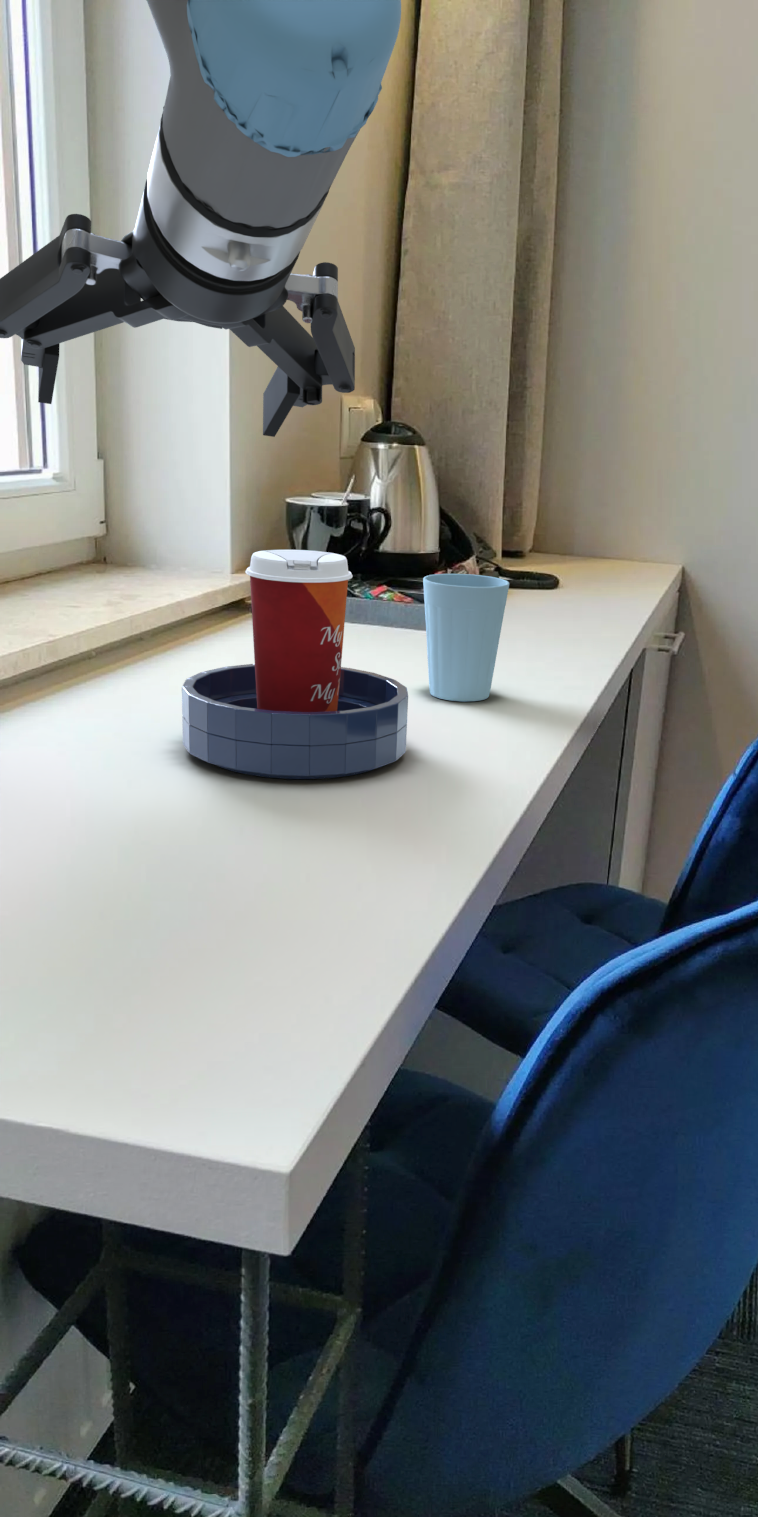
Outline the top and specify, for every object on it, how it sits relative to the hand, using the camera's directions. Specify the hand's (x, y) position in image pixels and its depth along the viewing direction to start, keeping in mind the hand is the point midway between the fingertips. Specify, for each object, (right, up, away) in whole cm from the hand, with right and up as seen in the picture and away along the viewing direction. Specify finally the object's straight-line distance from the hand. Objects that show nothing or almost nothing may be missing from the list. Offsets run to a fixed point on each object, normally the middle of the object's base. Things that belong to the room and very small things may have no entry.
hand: (160, 399), depth 80 cm
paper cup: (+6, -20, +18) cm, 27 cm away
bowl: (+6, -20, +18) cm, 28 cm away
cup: (+19, -13, +39) cm, 45 cm away
